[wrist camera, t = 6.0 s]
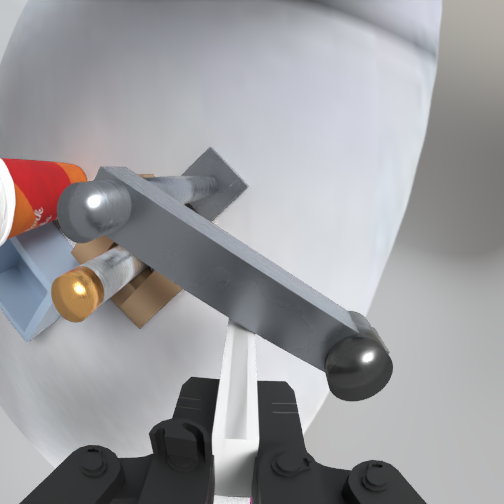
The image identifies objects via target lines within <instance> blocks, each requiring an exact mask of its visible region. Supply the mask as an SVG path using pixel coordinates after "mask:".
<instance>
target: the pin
mask: <svg viewBox="0 0 504 504" xmlns="http://www.w3.org/2000/svg"><path fill="white" fill-rule="evenodd" d="M147 267H148V265H147V264H145V263H144V262H142V261H141V260H139V259H138V258H137V257H135V256H134V255H132V254H131V253H129V252H128V251H127V250H125V249H124V248H122V247H121V246H119V245H118V246H116V247H114V248H112V249H110V250H108V251H106V252H104V253H102V254H100V255H98V256H96V257H94V258H92V259H91V260H89V261H87V262H85V263H83V264H81V265H79V266H77V267H76V268H74V269H72V270H70V271H68V272H66V273H65V274H63V275H61V276H59V277H57V278H56V279H55V280H54V282H53V283H52V287H51V297H52V301H53V304H54V306H55V308H56V309H57V311H58V312H59V313H60V314H61V316H63V317H64V318H65V319H67V320H69V321H71V322H81V321H83V320H84V319H85V318H86V317H88V316H89V315H90V314H91V313H92V312H94V311H95V310H96V309H97V308H98V307H99V306H101V305H102V304H103V303H104V302H105V301H107V300H108V299H109V298H110V297H111V296H113V295H114V294H115V293H116V292H117V291H119V290H120V289H121V288H122V287H124V286H125V285H126V284H127V283H128V282H130V281H131V280H132V279H133V278H135V277H136V276H137V275H138V274H140V273H141V272H142V271H143V270H145V269H146V268H147Z"/></svg>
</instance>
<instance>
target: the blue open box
mask: <svg viewBox="0 0 504 504" xmlns="http://www.w3.org/2000/svg"><path fill="white" fill-rule="evenodd" d="M72 250H73V247H72V246H71V245H70V244H69V242H68V241H67V240H66V239H65V237H64V236H63V235H62V233H61V232H60V231H59V230H58V228H57V227H56V226H55V224H54V223H53V222H49V223H47V224H44V225H41V226H39V227H36V228H34V229H31V230H29V231H26V232H24V233H22V234H19V235H17V236H14V237H12V238H10V239H7V240H6V241H5V242H4V243H3V244H2V245H1V246H0V309H1V310H2V312H3V313H4V314H5V316H6V317H7V318H8V320H9V321H10V322H11V324H12V325H13V326H14V328H15V329H16V330H17V331H18V333H19V334H20V335H21V336H22V338H23V339H24V340H25V341H26V342H27V343H28V342H30V341H31V340H32V339H33V338H35V337H36V336H37V335H38V334H40V333H41V332H42V331H43V330H45V329H46V328H47V327H48V326H50V325H51V324H52V323H54V322H55V321H56V320H58V319H59V317H60V316H61V314H60V313H59V312H58V311H57V309H56V308H55V306H54V304H53V301H52V297H51V287H52V283H53V282H54V280H55V279H56V278H57V277H59V276H61V275H63V274H65V273H66V272H68V271H70V270H72V269H74V268H76V267H77V266H79V265H80V264H79V262H78V261H77V260H76V259H75V258H74V256H73V255H72V254H71V251H72Z"/></svg>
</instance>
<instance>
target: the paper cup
mask: <svg viewBox="0 0 504 504" xmlns="http://www.w3.org/2000/svg"><path fill="white" fill-rule="evenodd" d="M77 182H87V177H86V175H85V173H84V172H83V170H82V169H81V168H80V167H78V166H76V165H73V164H67V163H59V162H49V161H37V160H22V159H5V158H0V246H1V245H2V244H3V243H4V242H5V241H6V240H7V239H10V238H12V237H14V236H17V235H19V234H22V233H24V232H26V231H29V230H31V229H34V228H36V227H39V226H41V225H44V224H47V223H49V222H52V221H54V220H57V219H58V218H57V204H58V200H59V198H60V195H61V194H62V192H63V191H64V189H65V188H66V187H68V186H69V185H71V184H73V183H77Z"/></svg>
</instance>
